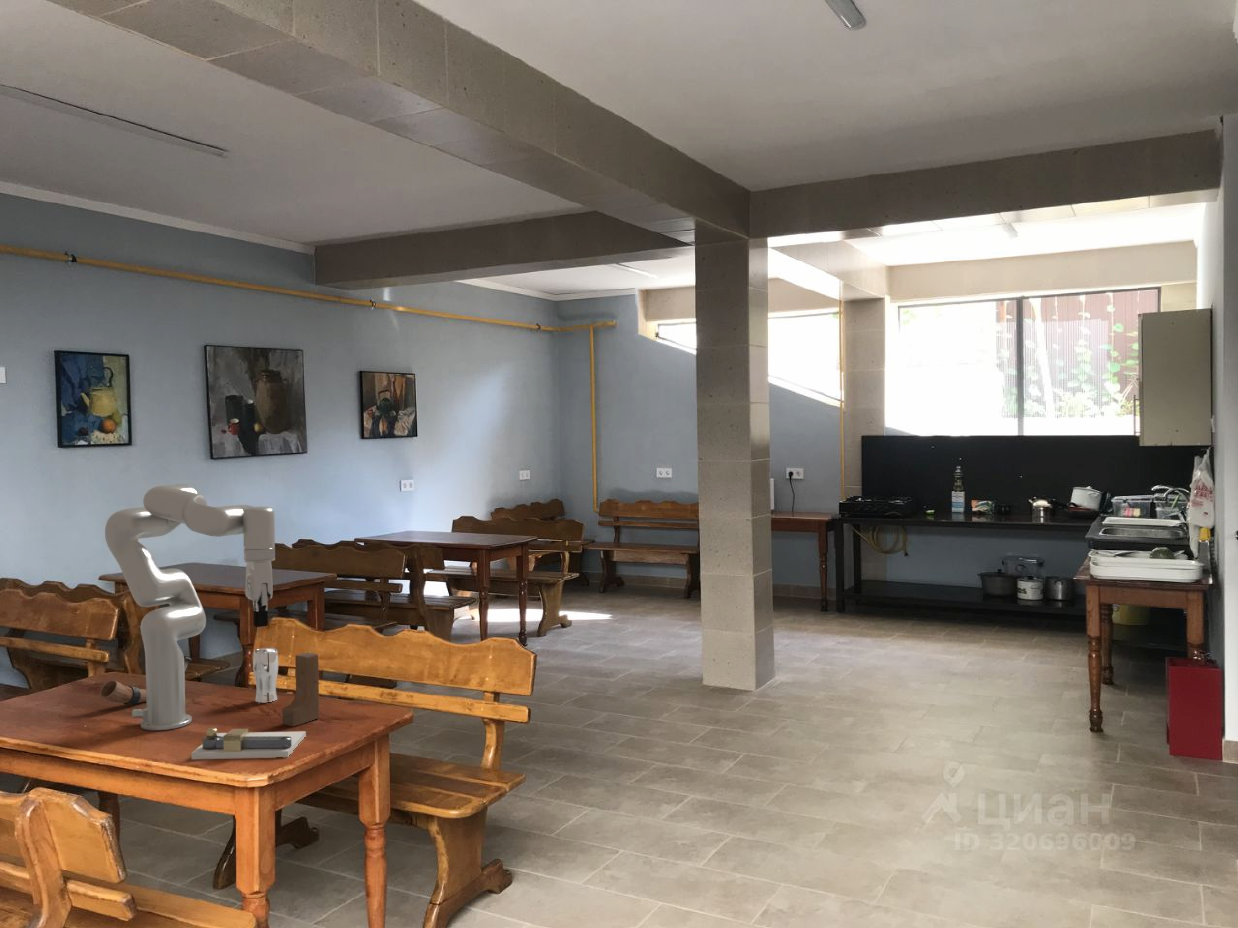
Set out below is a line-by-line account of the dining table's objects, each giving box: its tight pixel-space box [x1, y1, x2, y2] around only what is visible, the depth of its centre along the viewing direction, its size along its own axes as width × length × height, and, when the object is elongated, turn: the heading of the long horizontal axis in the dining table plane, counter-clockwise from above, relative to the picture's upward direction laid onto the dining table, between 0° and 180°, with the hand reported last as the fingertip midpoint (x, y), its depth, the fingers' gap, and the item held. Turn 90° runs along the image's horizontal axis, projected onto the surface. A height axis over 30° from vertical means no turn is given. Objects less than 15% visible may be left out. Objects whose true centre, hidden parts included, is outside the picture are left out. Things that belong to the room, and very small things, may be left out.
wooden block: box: [281, 652, 320, 727], centre depth 270 cm, size 9×4×18 cm, turn 146°
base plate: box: [191, 730, 307, 760], centre depth 248 cm, size 23×16×2 cm
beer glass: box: [252, 647, 279, 704], centre depth 291 cm, size 7×7×15 cm
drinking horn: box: [99, 656, 192, 705], centre depth 293 cm, size 6×30×10 cm, turn 154°
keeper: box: [206, 727, 249, 752], centre depth 243 cm, size 9×6×5 cm, turn 93°
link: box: [201, 736, 292, 749], centre depth 243 cm, size 22×4×2 cm, turn 89°
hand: (260, 625), depth 255 cm, fingers closed
